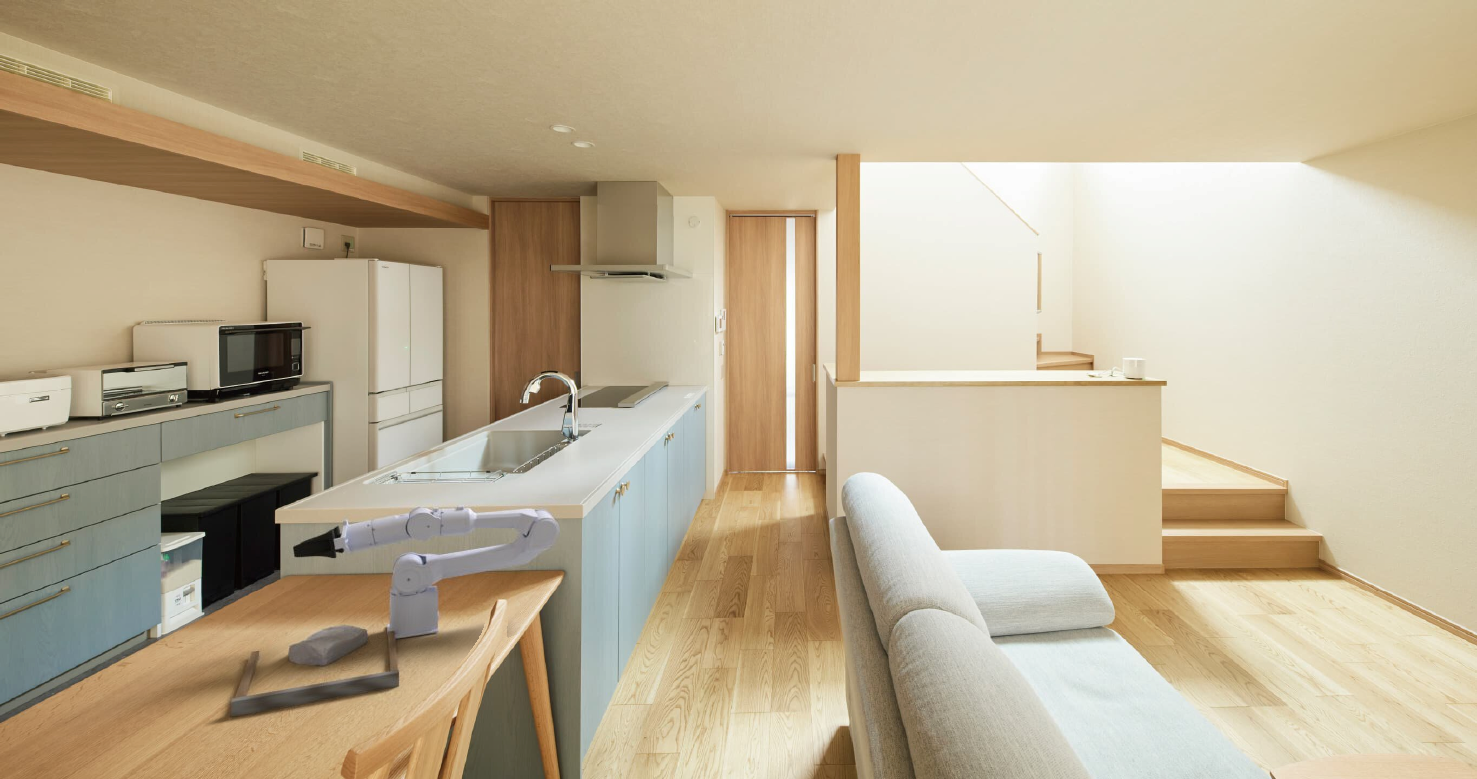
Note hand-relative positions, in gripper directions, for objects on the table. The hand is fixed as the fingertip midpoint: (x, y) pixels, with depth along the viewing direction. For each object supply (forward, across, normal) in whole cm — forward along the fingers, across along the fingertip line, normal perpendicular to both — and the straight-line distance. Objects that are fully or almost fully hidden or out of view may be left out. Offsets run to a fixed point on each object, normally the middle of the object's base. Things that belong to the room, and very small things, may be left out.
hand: (297, 549), depth 136 cm
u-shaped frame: (-3, +10, +22) cm, 25 cm away
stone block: (-2, +2, +21) cm, 21 cm away
